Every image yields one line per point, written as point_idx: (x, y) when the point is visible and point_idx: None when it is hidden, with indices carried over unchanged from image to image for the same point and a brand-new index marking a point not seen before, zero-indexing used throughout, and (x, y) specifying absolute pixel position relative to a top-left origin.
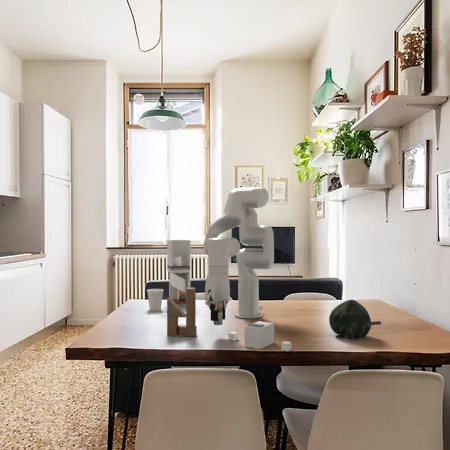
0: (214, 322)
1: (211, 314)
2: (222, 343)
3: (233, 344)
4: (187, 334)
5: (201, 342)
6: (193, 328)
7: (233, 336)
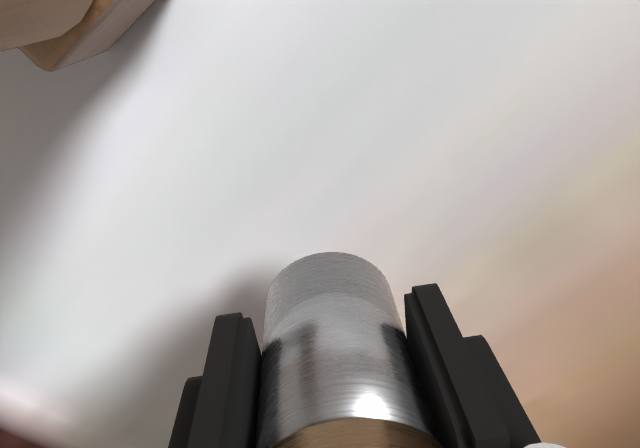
0: (265, 323)
1: (173, 440)
2: None
3: None
4: None
5: (60, 267)
6: (32, 56)
7: None
